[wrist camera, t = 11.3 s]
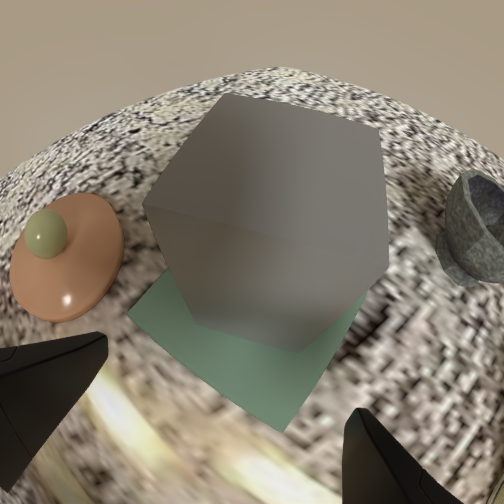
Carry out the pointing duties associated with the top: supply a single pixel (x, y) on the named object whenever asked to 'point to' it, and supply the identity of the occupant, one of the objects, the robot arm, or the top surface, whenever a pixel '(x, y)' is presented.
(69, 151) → the top surface
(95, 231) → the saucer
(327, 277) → the grey tall block
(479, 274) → the mortar and pestle
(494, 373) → the top surface
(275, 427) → the mat
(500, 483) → the coffee can
